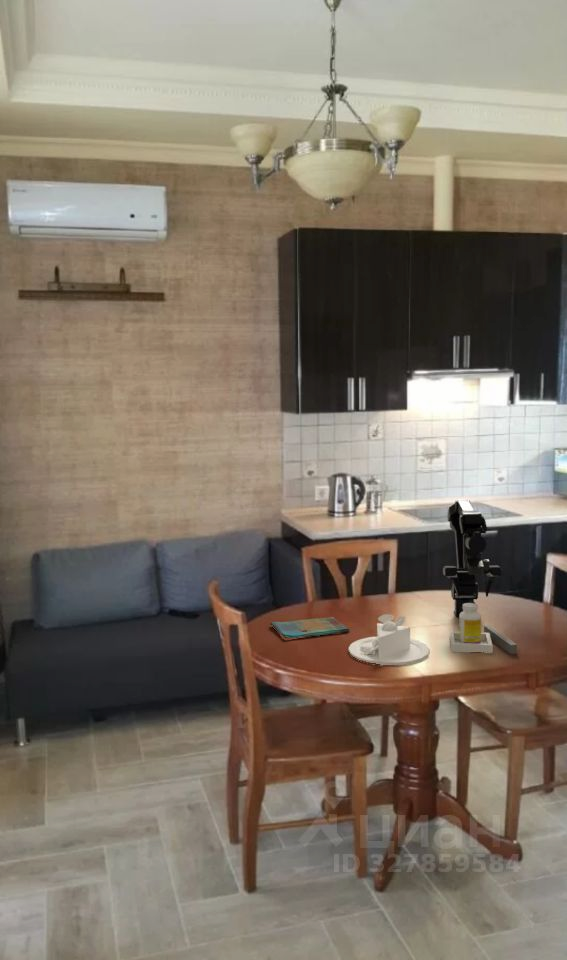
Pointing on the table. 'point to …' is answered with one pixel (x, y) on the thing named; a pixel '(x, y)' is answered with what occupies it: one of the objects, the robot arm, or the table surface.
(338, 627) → the dish towel
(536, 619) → the table surface
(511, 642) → the long gray bar
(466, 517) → the robot arm
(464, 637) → the supplement bottle
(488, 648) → the square cradle
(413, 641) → the dish
